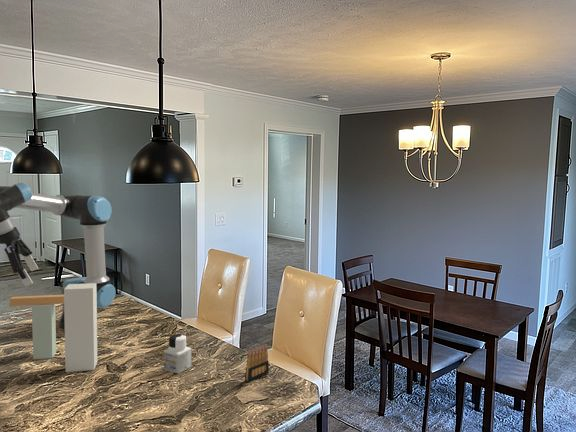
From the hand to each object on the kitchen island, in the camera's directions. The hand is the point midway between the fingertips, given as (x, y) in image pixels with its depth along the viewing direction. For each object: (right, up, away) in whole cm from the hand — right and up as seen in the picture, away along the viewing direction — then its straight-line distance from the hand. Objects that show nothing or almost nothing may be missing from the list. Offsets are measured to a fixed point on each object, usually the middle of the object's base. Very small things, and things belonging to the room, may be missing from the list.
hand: (32, 276), depth 173 cm
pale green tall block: (+2, -33, +5) cm, 34 cm away
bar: (+2, -11, +3) cm, 12 cm away
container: (+59, -36, -3) cm, 69 cm away
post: (+22, -34, -4) cm, 41 cm away
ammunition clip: (+90, -37, -9) cm, 98 cm away
